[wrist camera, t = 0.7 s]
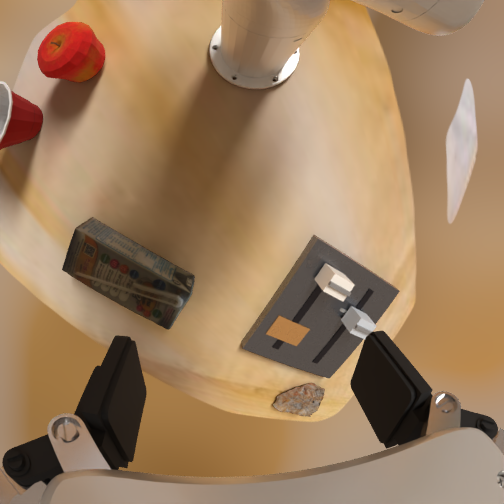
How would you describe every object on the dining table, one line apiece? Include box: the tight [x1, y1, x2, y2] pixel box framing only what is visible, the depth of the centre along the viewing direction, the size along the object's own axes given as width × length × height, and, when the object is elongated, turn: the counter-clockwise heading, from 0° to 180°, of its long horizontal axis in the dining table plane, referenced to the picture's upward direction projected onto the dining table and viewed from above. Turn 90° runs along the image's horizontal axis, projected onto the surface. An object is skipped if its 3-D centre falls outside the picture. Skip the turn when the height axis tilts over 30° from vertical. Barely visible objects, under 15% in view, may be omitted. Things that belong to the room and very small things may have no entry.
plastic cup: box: [0, 81, 43, 150], centre depth 25 cm, size 11×11×12 cm
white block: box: [341, 306, 376, 339], centre depth 43 cm, size 3×4×4 cm
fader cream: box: [315, 263, 355, 301], centre depth 40 cm, size 3×4×4 cm
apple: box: [37, 22, 105, 83], centre depth 24 cm, size 9×8×12 cm
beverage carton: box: [62, 217, 195, 330], centre depth 38 cm, size 8×19×7 cm, turn 57°
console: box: [242, 235, 399, 378], centre depth 46 cm, size 22×20×2 cm
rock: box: [273, 383, 325, 417], centre depth 52 cm, size 9×6×10 cm
